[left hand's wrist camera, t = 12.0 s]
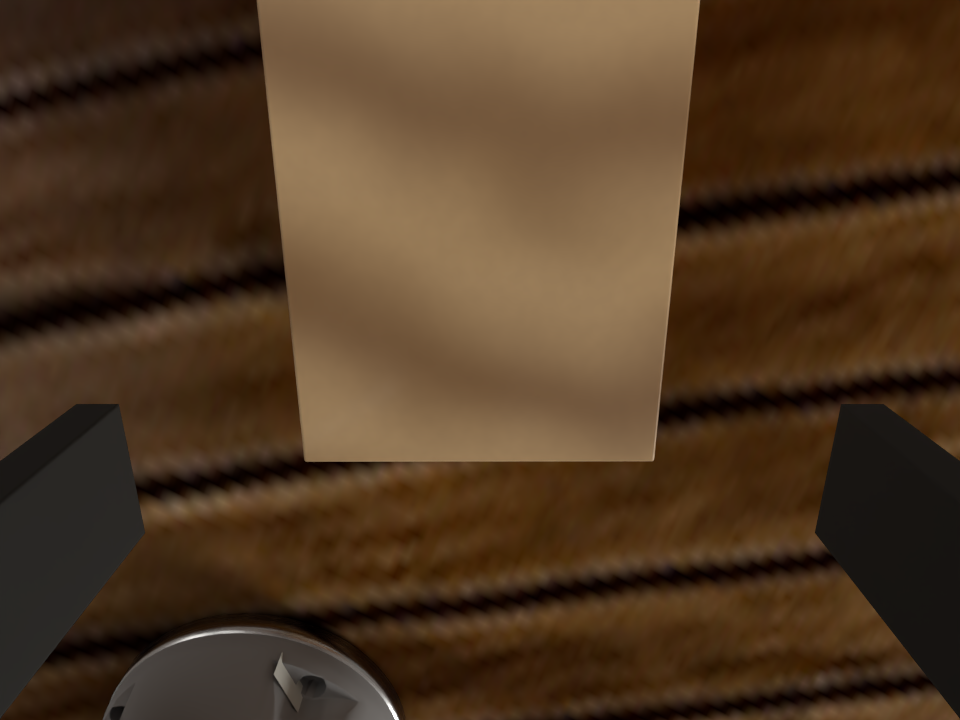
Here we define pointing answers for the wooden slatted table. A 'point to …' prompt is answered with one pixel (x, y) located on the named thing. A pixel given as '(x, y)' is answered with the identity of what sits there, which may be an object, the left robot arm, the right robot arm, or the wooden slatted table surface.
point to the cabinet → (478, 221)
